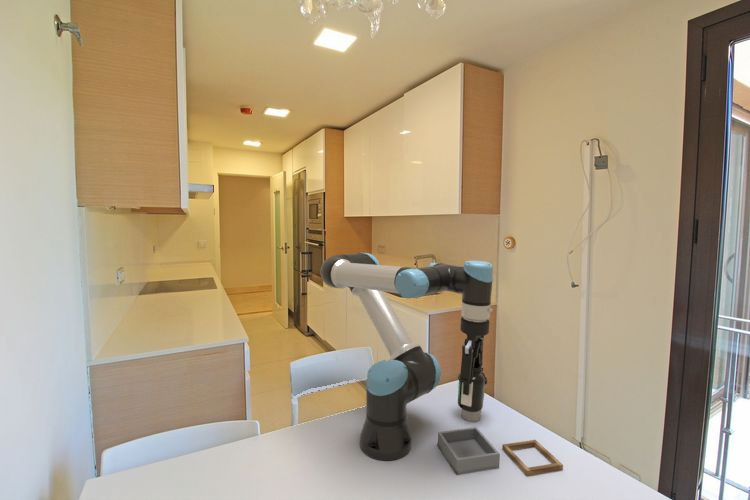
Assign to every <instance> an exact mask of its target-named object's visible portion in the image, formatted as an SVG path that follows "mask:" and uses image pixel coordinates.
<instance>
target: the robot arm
mask: <svg viewBox="0 0 750 500" xmlns="http://www.w3.org/2000/svg"><path fill="white" fill-rule="evenodd" d="M493 270H494V269H493V265H492V263H490V262H488V261H484V260H467V261H465V262H464V264H463V266H459V265H455V264H454V265H453V264H446V263H443V262H431V263H429V264H428V265H426V266H425V267H424V266H423V267H410V266H409V267H407V266H398V265H397V266H396V265H384V264H380V262H379V261H378V259H377V257H376V256H374V255H373V254H371V253H368V252H356V253H344V254H343V253H342V254H334V255H331V256H328V257H327V258H326V259H325V260H324V261H323V263H322V264H321V267H320V271H319V272H320V278H321V280H322V281H323V283H324V284H325V285H327V287H330V288H336V289H346V288H349V291H350V292H351V294H352V295H353V296H356V297H358V298H359V300H360V301H361V304H362V306H363V308H364V309H365V311H366V313H367V315H368V317H369V318H370V320H371V322H372V324H373V326H374V328H375V330H376V331H377V333H378V335H379V337H380V339H381V341H382V343H383V344H384V346H385V348H386V349H387V352H388V353H389V356H390V358H389V359H388V360H385V359H384V360H380V361H377V362H375V363H374V364H372V365H371V366H370V367H369V368H368V370H367V375H366V377H367V378H366V381H365V382H366V383H365V387H366V400H365V401H366V405H365V406H366V410H365V411H366V413H365V414H366V416H365V420H364V423H363V425H362V428H361V432H360V435H359V446H360V449H361V450H362V452H363V453H365V455H367V456H369V457H370V458H371V459H375V460H380V461H395V460H399V459H400V458H403V457H405V456H406V455H408V453H409V452H410V450H411V449H412V434H411V431H410V429H409V425H408V421H407V405H408V404H409V403H411V402H413V401H415V400H416V399H419V398H421V397H423V396H424V395H426V394H429V393H431V391H433V390H435V389H436V388H437V386H438V385H439V383H440V381H441V376H442V375H441V374H442V371H441V366H440V362H439V361H438V360H437V358H436V357H435V356H434V355H433V354H430V353H429V352H424V350H423V349H422V346H421V345H420V344H417V343H414V342H413V341H412V338H411V337H410V335H409V333H408V332H407V330H406V328H405V326H404V325H403V322H402V321H401V320H400V317H399V316H398V314H397V312H396V311H395V309H394V307H393V306H392V304H391V302H390V300H389V299H388V297H387V295H386V293H391V294H392V293H393V294H398V295H399V296H401V297H402V298H404V299H419V298H421V297H424V296H429V295H434V294H437V293H442V292H443V293H444V292H449V293H456V294H461V296H462V297H461V307H460V308H461V309H460V310H461V311H460V315H461V318H460V326H459V327H460V328H459V329H460V331H461V332H462V333H464V334H465V335H466V338H465V339H464V344H463V345H462V346H461V352H462V353H461V361H460V362H461V363H460V364H461V365H460V373H459V374H460V379H458V382H459V381H460V382H462V392H461V404H463V405H466V406H470V407H471V405H472V390H473V382H472V377H473V370H474V363H475V362H477V363H479V364H481V366H482V372H483V373H484V367H483V361H484V360H483V357H484V355H483V354H484V339H485V336H487V335H488V334H489V333H490V320H489V319H490V317H491V313H492V312H493V311H494V310H493V308H491V303H492V300H491V299H492V290H493V283H494V282H493V281H494V277H493V276H494V275H493V273H494V271H493ZM385 292H386V293H385Z"/></svg>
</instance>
